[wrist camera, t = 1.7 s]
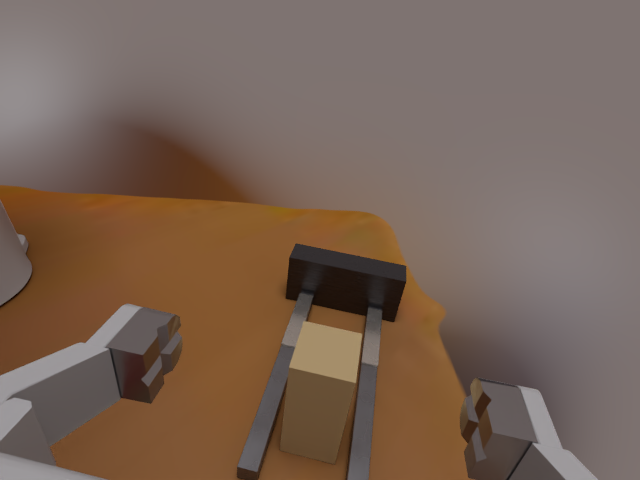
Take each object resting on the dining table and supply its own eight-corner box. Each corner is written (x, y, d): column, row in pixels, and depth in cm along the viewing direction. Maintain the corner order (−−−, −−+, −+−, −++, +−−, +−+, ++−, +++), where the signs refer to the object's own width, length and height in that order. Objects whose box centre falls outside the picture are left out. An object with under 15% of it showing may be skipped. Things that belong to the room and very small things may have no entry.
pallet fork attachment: (214, 471, 29) (212, 424, 26) (291, 283, 49) (295, 243, 46) (386, 517, 28) (406, 473, 25) (394, 305, 48) (406, 265, 45)
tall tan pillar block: (279, 450, 31) (289, 367, 26) (293, 402, 35) (303, 320, 30) (334, 464, 31) (355, 383, 25) (342, 414, 34) (362, 333, 29)
